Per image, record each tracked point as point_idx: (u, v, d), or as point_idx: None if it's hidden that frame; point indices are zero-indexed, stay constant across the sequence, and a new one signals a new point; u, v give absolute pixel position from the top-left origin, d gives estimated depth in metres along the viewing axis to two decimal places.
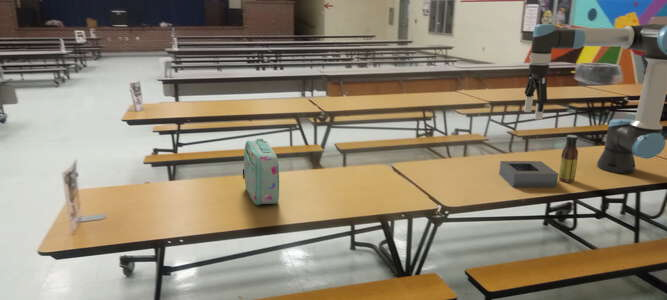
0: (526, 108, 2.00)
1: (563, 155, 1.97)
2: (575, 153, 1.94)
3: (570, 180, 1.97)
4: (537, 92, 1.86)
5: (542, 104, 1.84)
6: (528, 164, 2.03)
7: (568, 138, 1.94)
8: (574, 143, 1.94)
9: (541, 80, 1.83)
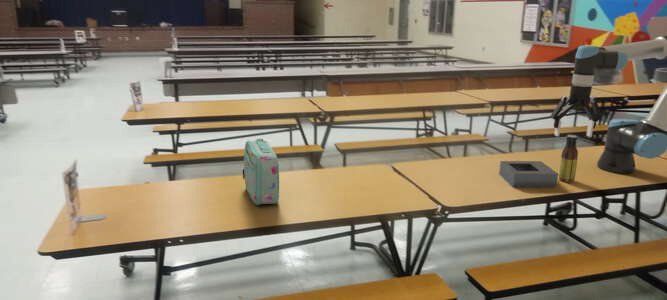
0: (587, 131, 1.95)
1: (563, 155, 1.97)
2: (575, 153, 1.94)
3: (570, 180, 1.97)
4: (562, 110, 1.92)
5: (555, 120, 1.92)
6: (528, 164, 2.03)
7: (568, 138, 1.94)
8: (574, 143, 1.94)
9: (561, 98, 1.91)
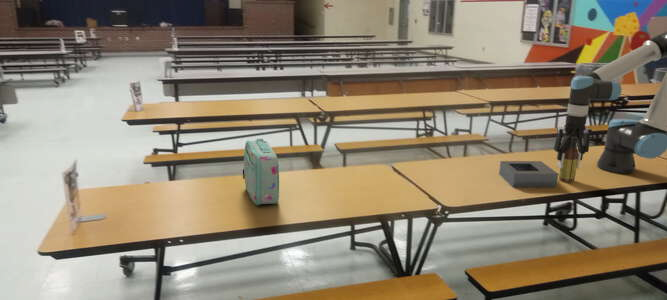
0: None
1: None
2: (575, 153, 1.94)
3: (570, 180, 1.97)
4: (562, 141, 1.96)
5: (558, 153, 1.96)
6: (528, 164, 2.03)
7: None
8: (574, 143, 1.94)
9: (557, 130, 1.95)
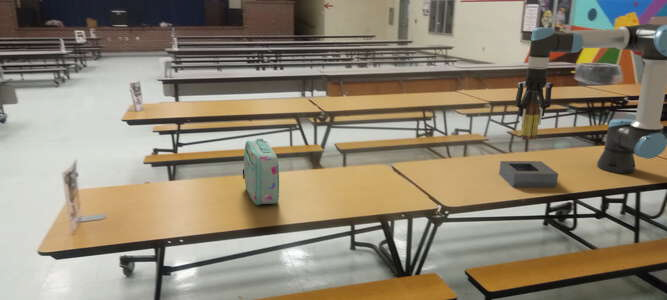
0: None
1: None
2: (536, 108, 1.88)
3: (532, 137, 1.91)
4: None
5: (519, 108, 1.91)
6: (528, 164, 2.03)
7: None
8: (535, 98, 1.88)
9: (518, 84, 1.89)
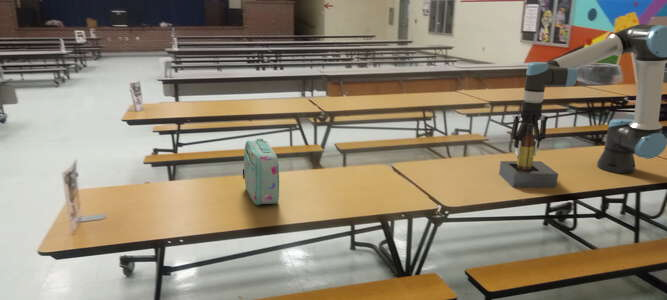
0: None
1: None
2: (532, 140, 1.92)
3: (527, 168, 1.95)
4: (519, 128, 1.94)
5: (515, 140, 1.95)
6: None
7: None
8: (531, 130, 1.92)
9: (513, 117, 1.93)
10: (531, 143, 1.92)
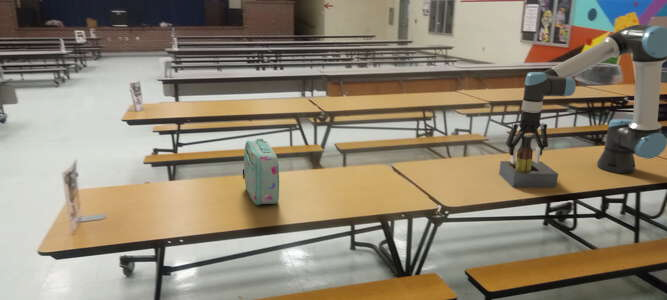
0: (535, 158, 1.98)
1: (518, 155, 1.96)
2: (529, 153, 1.94)
3: None
4: (516, 136, 1.96)
5: (510, 148, 1.95)
6: None
7: (523, 138, 1.94)
8: (528, 143, 1.93)
9: (512, 125, 1.94)
10: (529, 156, 1.94)
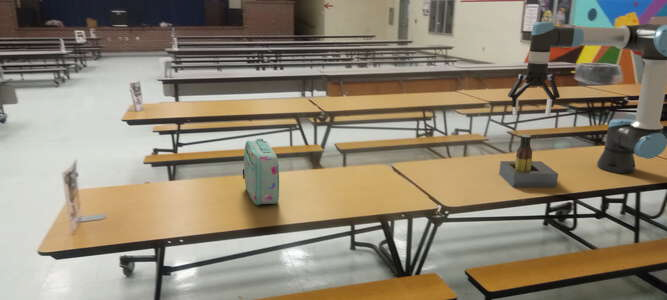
0: (546, 110, 1.92)
1: (517, 155, 1.96)
2: (529, 153, 1.94)
3: None
4: (520, 88, 1.90)
5: (512, 99, 1.89)
6: None
7: (522, 138, 1.94)
8: (528, 143, 1.94)
9: (518, 76, 1.88)
10: (528, 155, 1.94)
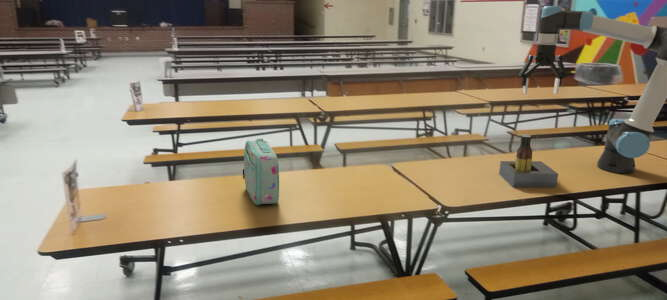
0: (554, 89, 2.06)
1: (517, 155, 1.96)
2: (529, 153, 1.94)
3: None
4: (530, 68, 2.03)
5: (523, 78, 2.03)
6: None
7: (522, 138, 1.94)
8: (528, 143, 1.94)
9: (528, 57, 2.01)
10: (528, 156, 1.94)
